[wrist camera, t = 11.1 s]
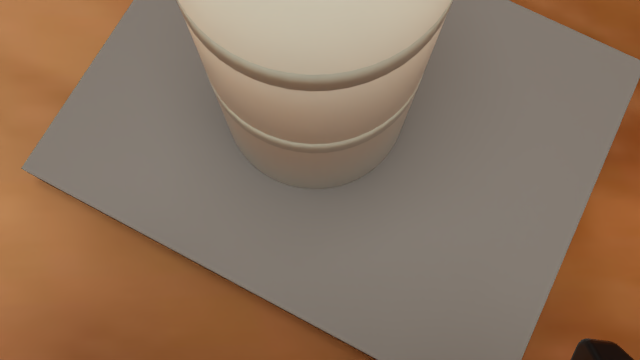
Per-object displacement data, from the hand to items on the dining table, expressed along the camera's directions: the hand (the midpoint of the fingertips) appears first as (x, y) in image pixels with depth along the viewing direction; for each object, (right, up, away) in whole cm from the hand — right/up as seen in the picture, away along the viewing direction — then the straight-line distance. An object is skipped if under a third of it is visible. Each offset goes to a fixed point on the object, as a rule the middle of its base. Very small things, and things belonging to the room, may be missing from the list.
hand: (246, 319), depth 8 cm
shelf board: (+2, +4, +15) cm, 16 cm away
